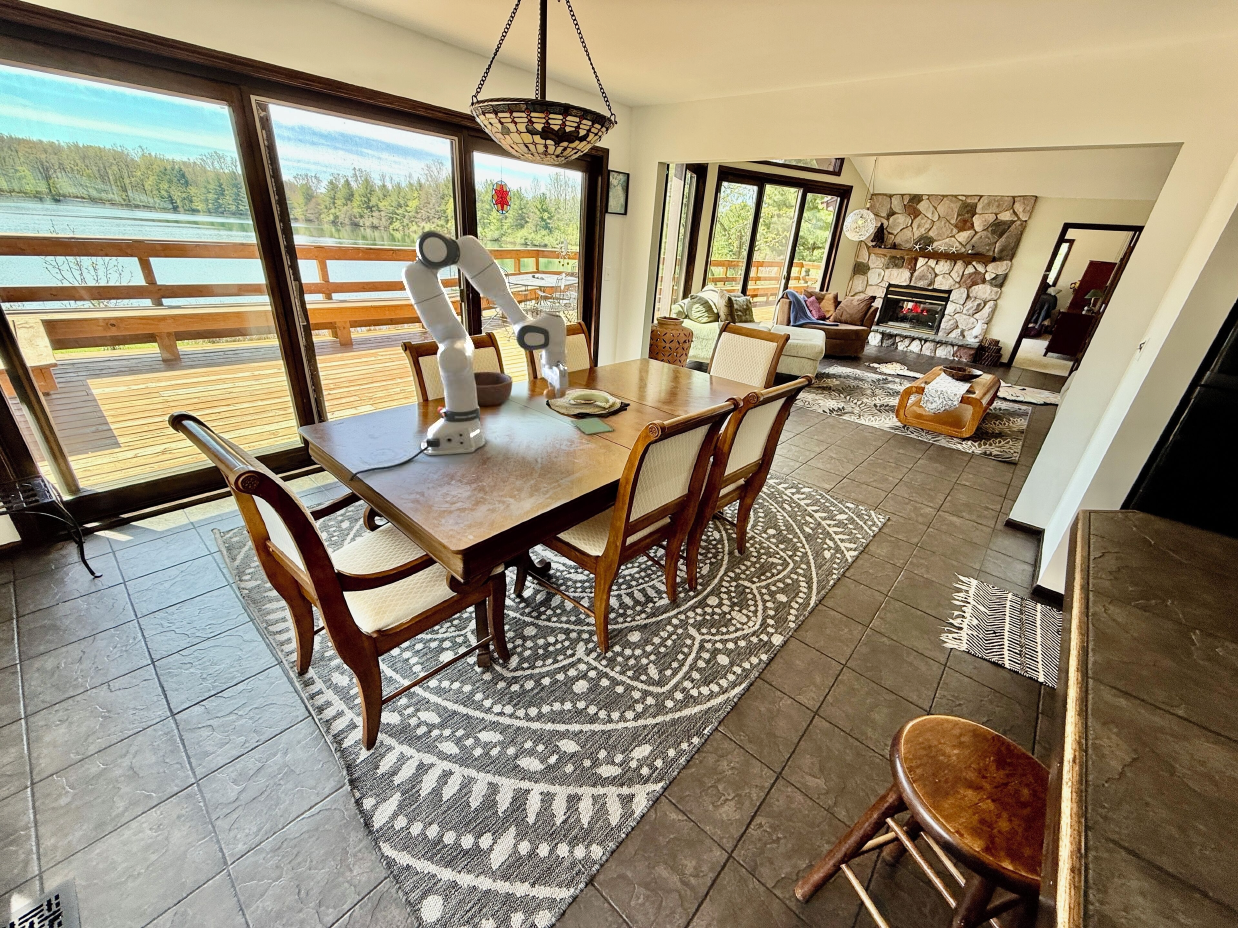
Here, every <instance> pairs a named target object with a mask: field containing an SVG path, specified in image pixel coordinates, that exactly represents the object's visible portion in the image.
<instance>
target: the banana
mask: <svg viewBox="0 0 1238 928" xmlns="http://www.w3.org/2000/svg"><path fill="white" fill-rule="evenodd" d="M569 400H592V401H596V402H600V403H606V404H607V403H610V398H608V397H607V396H605V395H603V394H601V393H596V392H582V393H579V394H578V393H577V394H576V395H573V396H572V397H571V398H570V399H569ZM605 412H606V413H609V412H610V409H609V410H608V411H606V410H605Z"/></svg>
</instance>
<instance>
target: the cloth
mask: <svg viewBox="0 0 1238 928" xmlns="http://www.w3.org/2000/svg"><path fill="white" fill-rule="evenodd" d="M571 422H572V423H573V424H574V425H575V426H576V427H578V429H580V430H581V431H582V432H583V433H584V434H585V435H593V434H599V433H606V432H613V431H614V429H613V428H612V427H611V426H609V425H608V424H606V423H605V422H604V421H603V420H601V419H600V418H599V417H589V418H583V419H582V418H581V419H575V420H571Z"/></svg>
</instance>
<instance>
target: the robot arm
mask: <svg viewBox="0 0 1238 928" xmlns="http://www.w3.org/2000/svg"><path fill="white" fill-rule="evenodd" d="M415 251H416V260H414V261H413V262H410V263H408V264H407V265H406V266H405V267H404V268H403V269H402V272H401V278H402V281H403V284H404V287H405V289H406V292H407V295H408V297H409V299H410V301H411V304H412V305H413V308H414V309H415V311H416V313H417V315H418V317H419V319H420V321H421V323H422V325H423V327H424V328H425V330H427V332H428V333H429V334H430V335H431V337H432V338H433V340H434V341H435V343H436V344H437V346H438V350H437V353H436V357H437V364H438V368H439V370H438V371H439V374H440V378H441V382H442V387H443V393H444V395H443V396H444V403H445V406H444V407H443V406H438V408H437V412H438V413H439V414H440V418H439V419H438V420H437V421H435V422H434V423H433V424H432V425H431V426H429V427H428V429H427V432H426V438H424V439H423V440H422V441H421V444H420V448H421V450H420V451H418V452H417V453H415V454H414V455H413V456H411V457H409V458H408V459H406V460H404V461H402V462H399V463H396V464H392V465H387V466H377V467H372V468H371V467H370V468H367V469H363V470H359V471H356V472H354V473H353V474H352V475H351V476H350V477H349V479H348V481H349V482H351V481H353V480H354V478H355V477H356V476H357V475H360V474H364V473H368V472H369V473H370V472H374V471H379V470H388V469H392V468H393V469H394V468H398V467H399V466H402V465H405V464H407V463H410V461H413V460H414V459H416V458H417V457H419V456H420V455H421V454H422V453H424V454H425V455H428V456H440V455H442V456H443V455H453V454H454V455H455V454H467V453H468V454H469V453H470V454H471V453H474V452H475V451H476V450H477V449H480V448H481V447H484V445H485V444H486V439H485V437H484V433H483V430H482V427H481V409H480V406H478V403H477V390H476V383H475V378H474V373H475V372H474V371H475V370H474V365H473V364H474V356H475V354H476V350H475V349H476V348H475V345H474V343H473V341H472V339H471V337H470V335H469V334H468V332H467V330H466V329H465V327H464V325H463V324H462V322H461V320H460V318H459V317H458V315H457V314H456V311H455V309H454V307H453V305H452V303H451V301H450V299H449V297H448V295H447V292H446V291H445V288H444V286H443V284H442V282H441V280H440V270H442V269H445V268H448V267H451V266H455V267H456V268H458V270H460V271H461V272H462V273H463V275H464V277H466V279H467V280H468V282H469V283H470V284H471V285H472V287H473V288H474V289H475V290H476V291H477V292H478V293H479V294H480V295H481V296H482V297H483V298H486V299H488V300H489V301H491V302H493V304H495V305H496V306H497V307H498V308H499V309H500V310H501V312H502V313H503V315H504V316H505V317H506V318H507V321H508V322H509V323H510V325H511V326H512V331H513V334H514V337H515V339H516V342H517V344H518V346H519V347H520V348H521V349H523V350H524V351H529V352H531V351H539V350H541V352H539V353H538V357H539V359H540V371H541V376H542V377H543V378H544V379H545V380H546V381H547V384H548V388H553V387H555V389H556V392H555V397H557V398H558V397H560V396H561V390H568V389H569V373H568V372H569V371H568V369H567V367H565V365H567V346H566V343H567V324H566V320H565V318H564V316H562V314H560V313H556V312H551V311H545V312H543V313H542V314H541V315H539V316H538V317H536V318H533V317H531V316H530V315H528V314H527V313H526V312H525V311H524V310H523V308H522V307H521V305H520V304H519V302H518V301H517V300H516V299H515V297H514V296H513V294H512V293H511V290H510V288H509V284H508V281H507V278H506V276H505V274H504V272H503V270H502V269H501V266H500V265H499V264H498V262H497V261H496V259H495V258H494V256H493V255H492V254H491V252H490V251H489V250H488V248H486V247H485V246H484V244H482V242H481V241H480V240H479V239H478V238H477V237H475V236H473V235H470V234H469V235H463V236H461V237H459V238H458V239H454V238H452V237H451V236H448V235H446V234H445V233H443V232H441V231H438V230H434V229H433V230H430V229H429V230H426V231H424V232H422V233H421V234H420V235H419V236H418V237H417V240H416V242H415ZM558 399H559V398H558Z"/></svg>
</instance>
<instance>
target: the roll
mask: <svg viewBox="0 0 1238 928" xmlns="http://www.w3.org/2000/svg"><path fill="white" fill-rule="evenodd" d="M555 392H556V389H555V386H554V387H553V388H549V387H548V388H546V389H545V390H544V391H543V397H544V398H545V400H547V401H553V400H558V399H562V398H565V396H566V394H567V389H565V390H561V396H560V397H558V398H557V397H555Z"/></svg>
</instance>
